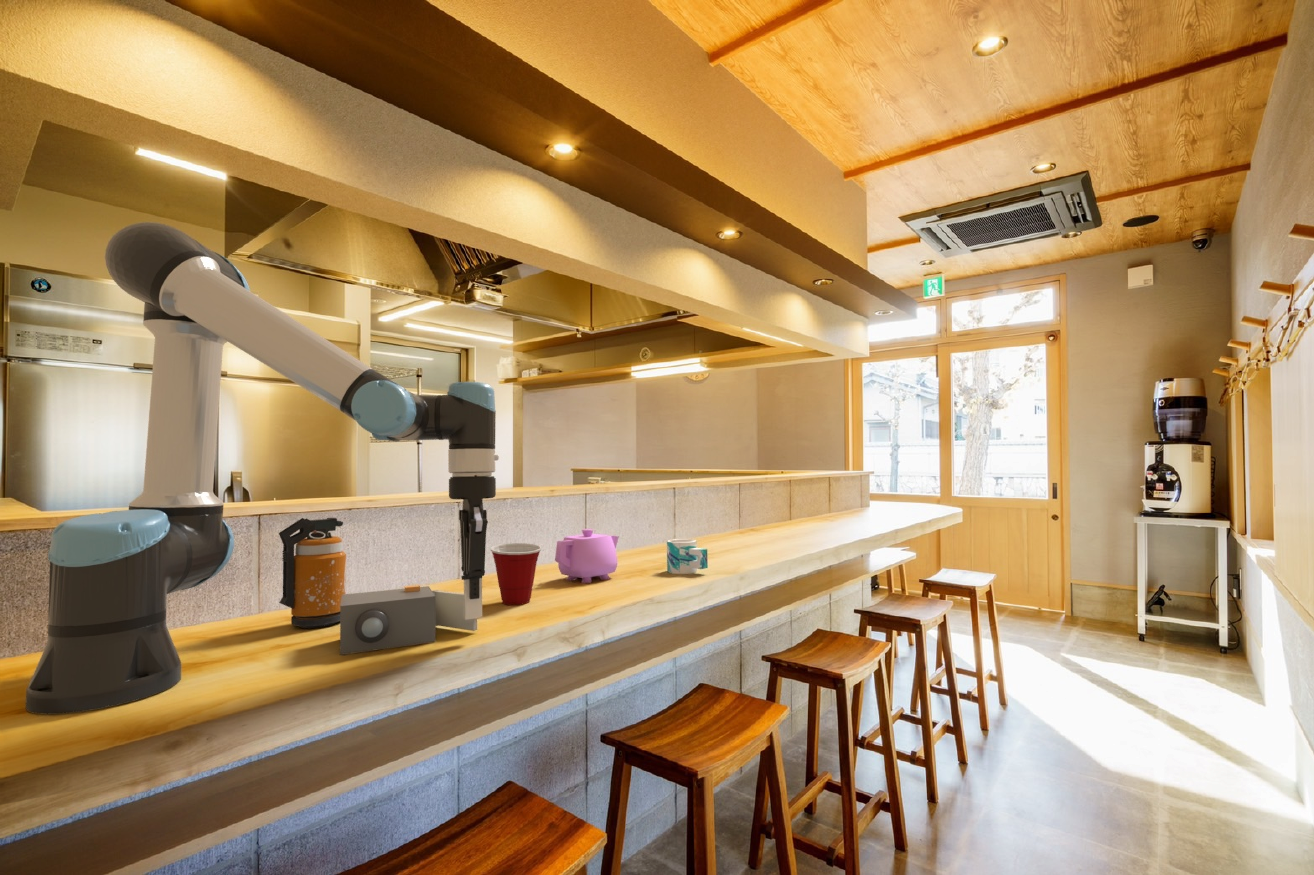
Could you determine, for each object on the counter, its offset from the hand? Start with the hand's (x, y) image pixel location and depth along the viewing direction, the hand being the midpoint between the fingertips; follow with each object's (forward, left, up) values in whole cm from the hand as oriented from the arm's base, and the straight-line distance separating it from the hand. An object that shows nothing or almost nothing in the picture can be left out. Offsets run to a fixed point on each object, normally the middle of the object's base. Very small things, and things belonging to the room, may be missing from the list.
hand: (473, 617), depth 101 cm
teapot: (+36, +44, -4) cm, 57 cm away
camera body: (-13, +8, -4) cm, 15 cm away
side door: (-2, +9, -4) cm, 10 cm away
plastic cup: (+13, +26, -4) cm, 29 cm away
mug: (+62, +39, -4) cm, 74 cm away
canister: (-25, +27, -4) cm, 37 cm away
